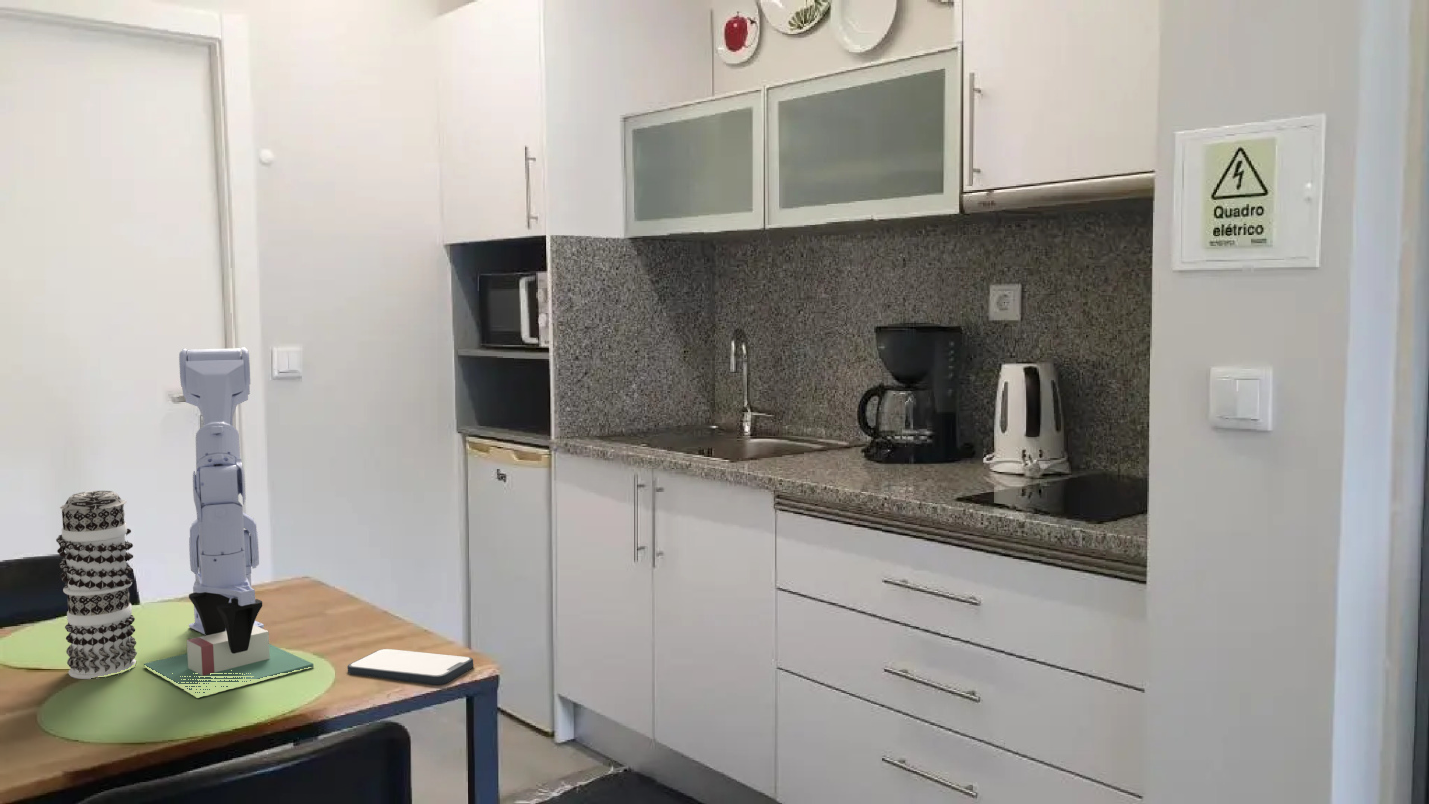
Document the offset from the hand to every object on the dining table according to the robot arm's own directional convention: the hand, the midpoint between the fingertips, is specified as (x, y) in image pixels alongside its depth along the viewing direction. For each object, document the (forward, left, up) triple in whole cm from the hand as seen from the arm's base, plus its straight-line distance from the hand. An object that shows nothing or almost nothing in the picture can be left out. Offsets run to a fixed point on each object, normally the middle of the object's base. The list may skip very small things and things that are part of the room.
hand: (227, 645), depth 156 cm
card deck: (0, 0, -3) cm, 3 cm away
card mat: (0, 0, -3) cm, 3 cm away
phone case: (+20, +17, -4) cm, 26 cm away
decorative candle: (-13, -12, -3) cm, 18 cm away
